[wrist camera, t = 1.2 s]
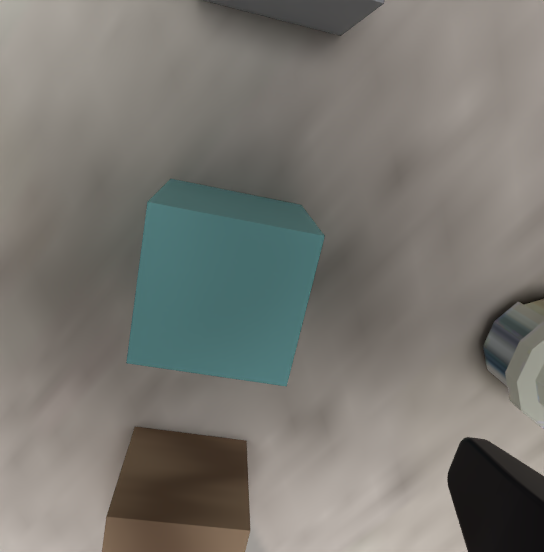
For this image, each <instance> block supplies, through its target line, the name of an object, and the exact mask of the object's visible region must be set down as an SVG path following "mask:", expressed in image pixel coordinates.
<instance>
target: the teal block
mask: <svg viewBox="0 0 544 552" xmlns="http://www.w3.org/2000/svg"><path fill="white" fill-rule="evenodd" d="M324 237H325V236H324V234H323V233H322V232H321V230H320V229H319V228H318V226H317V225H316V224H315V222H314V221H313V220H312V218H311V217H310V216H309V214H308V213H307V212H306V211H305V209H304V208H303V207H302V205H299V204H294V203H289V202H284V201H279V200H275V199H270V198H265V197H260V196H255V195H250V194H245V193H240V192H235V191H230V190H225V189H220V188H215V187H210V186H205V185H200V184H195V183H190V182H185V181H180V180H175V179H170V180H169V181H168V182H167V183H166V184H165V185H164V186H163V187H162V188H161V189H160V190H159V191H158V192H157V193H156V194H155V195H154V196H153V197H152V198H151V199H150V200H149V201H148V202H147V210H146V217H145V225H144V233H143V240H142V248H141V256H140V263H139V271H138V278H137V286H136V294H135V301H134V309H133V317H132V324H131V332H130V340H129V347H128V355H127V362H126V363H129V364H135V365H142V366H149V367H156V368H163V369H170V370H177V371H184V372H191V373H198V374H204V375H211V376H218V377H225V378H232V379H239V380H246V381H253V382H260V383H267V384H273V385H280V386H287V383H288V379H289V375H290V371H291V367H292V363H293V359H294V355H295V351H296V347H297V343H298V339H299V335H300V331H301V327H302V324H303V320H304V316H305V312H306V308H307V304H308V300H309V296H310V292H311V288H312V284H313V280H314V276H315V272H316V268H317V264H318V261H319V257H320V253H321V249H322V245H323V241H324Z"/></svg>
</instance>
